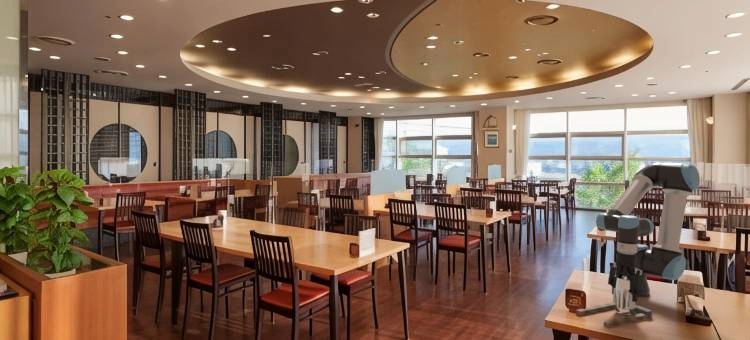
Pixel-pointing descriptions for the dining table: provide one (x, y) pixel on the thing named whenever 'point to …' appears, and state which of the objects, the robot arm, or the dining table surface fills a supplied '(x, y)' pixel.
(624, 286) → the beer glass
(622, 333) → the dining table surface
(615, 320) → the guide track
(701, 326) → the dining table surface
